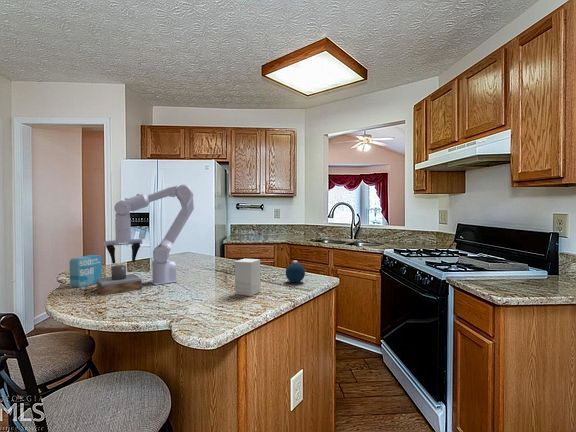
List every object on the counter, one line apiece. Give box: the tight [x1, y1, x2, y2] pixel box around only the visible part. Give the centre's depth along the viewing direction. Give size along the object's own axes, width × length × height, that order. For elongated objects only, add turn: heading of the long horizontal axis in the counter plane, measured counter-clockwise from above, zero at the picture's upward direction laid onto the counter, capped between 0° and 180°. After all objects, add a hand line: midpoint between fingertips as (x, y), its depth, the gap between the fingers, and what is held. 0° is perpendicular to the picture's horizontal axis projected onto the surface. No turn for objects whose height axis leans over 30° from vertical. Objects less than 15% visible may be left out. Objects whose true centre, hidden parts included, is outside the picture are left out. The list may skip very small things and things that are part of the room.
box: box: [96, 281, 143, 296], centre depth 135 cm, size 14×12×3 cm
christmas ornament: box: [285, 260, 306, 284], centre depth 145 cm, size 8×8×10 cm
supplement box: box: [234, 258, 262, 297], centre depth 128 cm, size 7×7×13 cm
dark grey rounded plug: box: [110, 264, 127, 280], centre depth 135 cm, size 5×5×5 cm
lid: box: [97, 273, 142, 286], centre depth 135 cm, size 14×12×1 cm
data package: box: [69, 254, 103, 288], centre depth 144 cm, size 12×4×12 cm, turn 163°
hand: (123, 262), depth 141 cm, fingers open, 7 cm apart
